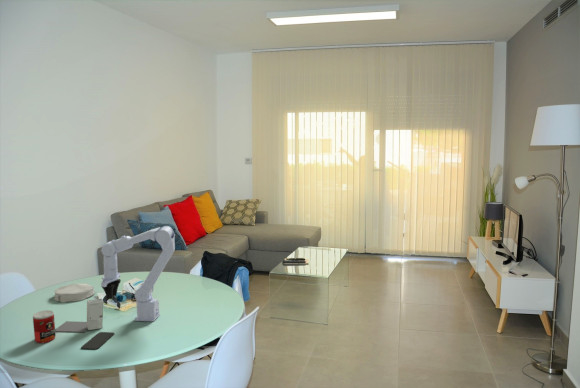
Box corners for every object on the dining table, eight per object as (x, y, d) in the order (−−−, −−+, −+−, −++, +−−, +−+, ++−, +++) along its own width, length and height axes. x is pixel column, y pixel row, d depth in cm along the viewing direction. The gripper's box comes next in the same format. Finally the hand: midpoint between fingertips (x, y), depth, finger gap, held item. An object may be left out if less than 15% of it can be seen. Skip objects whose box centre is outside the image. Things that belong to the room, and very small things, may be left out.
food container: (44, 300, 233) (43, 287, 232) (76, 287, 251) (75, 275, 250) (73, 306, 226) (72, 293, 225) (103, 292, 244) (102, 280, 243)
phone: (115, 332, 193) (97, 348, 178) (115, 334, 193) (97, 350, 178) (99, 331, 194) (79, 347, 179) (99, 333, 194) (79, 349, 179)
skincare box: (88, 330, 195) (88, 303, 193) (86, 326, 199) (86, 300, 197) (103, 328, 198) (103, 301, 197) (101, 324, 202) (101, 298, 200)
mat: (96, 322, 204) (96, 322, 203) (84, 332, 194) (84, 331, 194) (66, 322, 205) (66, 321, 205) (53, 331, 195) (53, 330, 195)
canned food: (41, 345, 182) (39, 319, 181) (30, 340, 187) (28, 315, 185) (59, 337, 189) (57, 312, 187) (48, 333, 193) (46, 308, 192)
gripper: (109, 263, 212) (110, 291, 214) (93, 272, 198) (95, 302, 200) (124, 263, 212) (125, 291, 213) (109, 273, 197) (110, 303, 199)
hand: (111, 297), depth 207 cm, fingers open, 3 cm apart
